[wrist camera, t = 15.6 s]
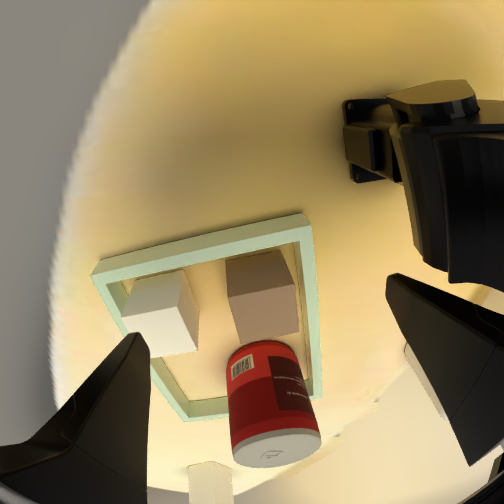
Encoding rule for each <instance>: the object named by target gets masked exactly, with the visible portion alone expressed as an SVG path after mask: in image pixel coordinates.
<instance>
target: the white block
mask: <svg viewBox="0 0 504 504" xmlns="http://www.w3.org/2000/svg"><path fill="white" fill-rule="evenodd" d="M199 312H200V311H199V309H198V306H197V304H196V301H195V299H194V296H193V294H192V291H191V289H190V286H189V283H188V281H187V278H186V276H185V273H184V270H179V271H175V272H171V273H167V274H162V275H158V276H154V277H150V278H145V279H141V280H137V281H135V282H134V284H133V287H132V289H131V292H130V294H129V297H128V299H127V302H126V304H125V307H124V310H123V312H122V315H121V317H120V318H121V320H122V321H123V323H124V325H125V327H126V328H127V330H128V332H129V333H132V332H140V333H141V335H142V336H143V338H144V340H145V342H146V343H147V345H148V347H149V349H150V358H157V357H164V356H170V355H176V354H183V353H189V352H194V351H198V331H199Z"/></svg>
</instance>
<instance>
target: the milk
mask: <svg viewBox="0 0 504 504" xmlns="http://www.w3.org/2000/svg"><path fill="white" fill-rule="evenodd" d="M189 504H234V499H233V489H232V479H231V469H230V468H229V467H226V466H223V465H221V464H218V463H215V462H213V461H210V462H206V463H201V464H196V465H191V466H189Z"/></svg>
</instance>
